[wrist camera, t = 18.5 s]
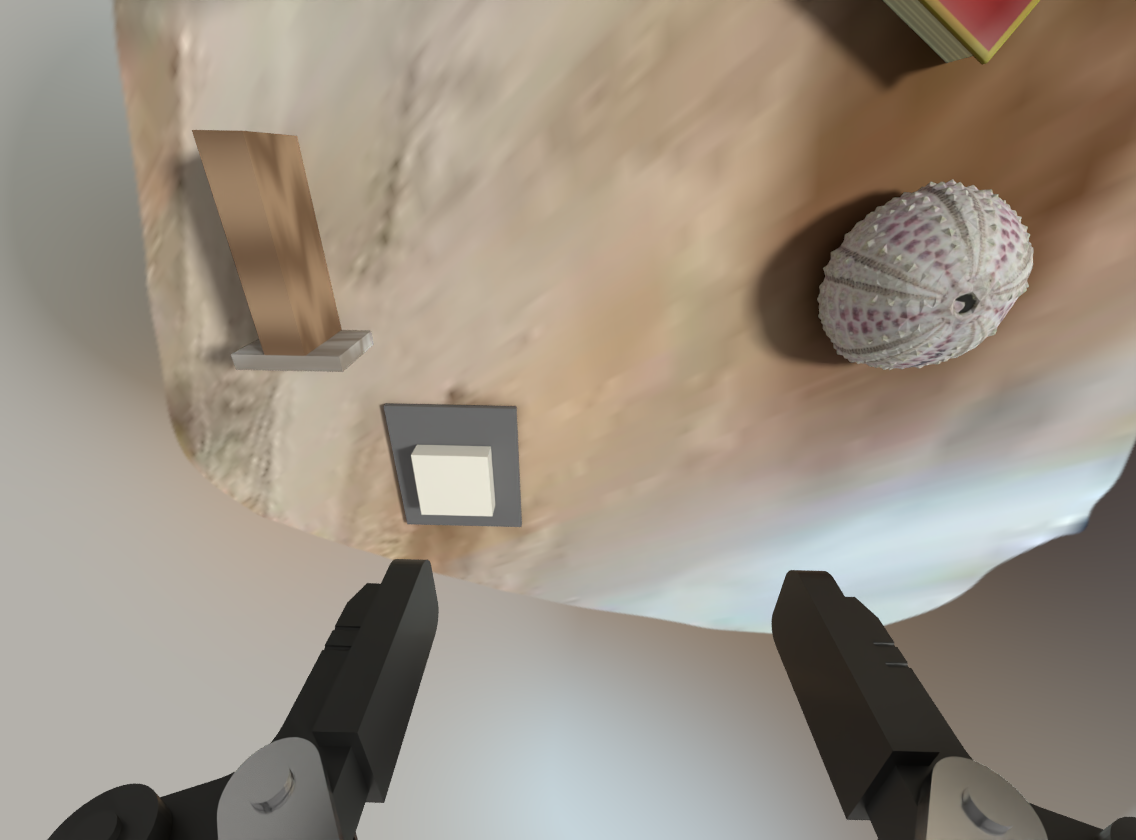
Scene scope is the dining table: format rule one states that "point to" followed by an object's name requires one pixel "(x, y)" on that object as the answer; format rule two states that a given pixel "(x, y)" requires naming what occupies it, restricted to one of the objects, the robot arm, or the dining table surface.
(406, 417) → the mat
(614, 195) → the dining table surface
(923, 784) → the robot arm
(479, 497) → the tile
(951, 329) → the sea urchin shell
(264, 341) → the wooden post on base
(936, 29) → the hardcover book
